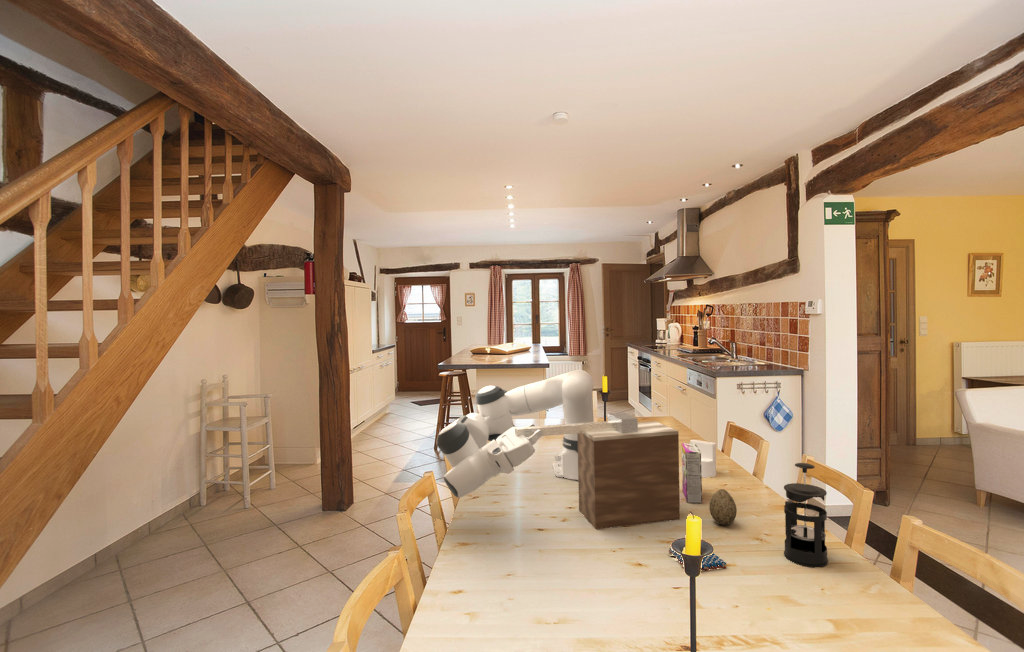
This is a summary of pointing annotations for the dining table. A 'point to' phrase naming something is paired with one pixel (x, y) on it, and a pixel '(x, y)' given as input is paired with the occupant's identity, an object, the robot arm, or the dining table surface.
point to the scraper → (586, 426)
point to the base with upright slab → (707, 457)
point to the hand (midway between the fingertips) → (538, 428)
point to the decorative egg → (723, 507)
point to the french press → (802, 534)
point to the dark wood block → (629, 476)
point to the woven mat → (705, 561)
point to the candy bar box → (691, 473)
